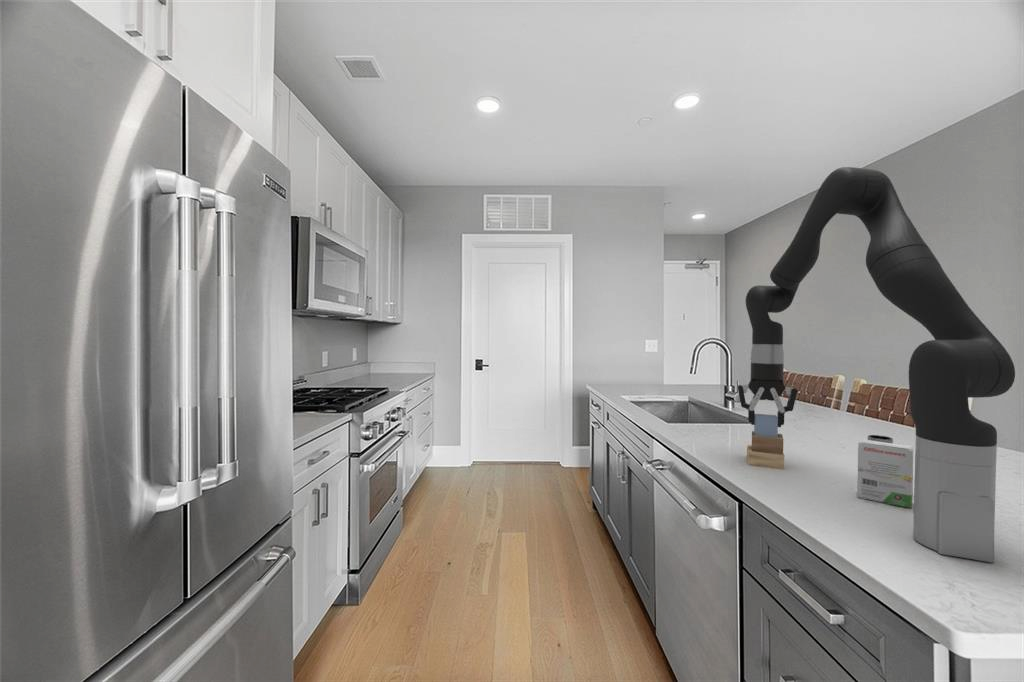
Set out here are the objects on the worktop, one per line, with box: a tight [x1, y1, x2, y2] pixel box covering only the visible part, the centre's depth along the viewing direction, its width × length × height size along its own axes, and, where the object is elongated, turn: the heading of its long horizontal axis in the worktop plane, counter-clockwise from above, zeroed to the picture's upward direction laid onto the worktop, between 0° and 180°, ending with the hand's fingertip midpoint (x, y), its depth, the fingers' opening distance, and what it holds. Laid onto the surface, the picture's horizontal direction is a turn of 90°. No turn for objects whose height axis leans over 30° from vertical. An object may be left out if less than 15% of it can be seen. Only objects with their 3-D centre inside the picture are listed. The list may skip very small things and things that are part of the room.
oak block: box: [746, 444, 785, 471], centre depth 118 cm, size 8×8×4 cm
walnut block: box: [751, 430, 784, 455], centre depth 117 cm, size 7×7×4 cm
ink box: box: [856, 439, 914, 509], centre depth 92 cm, size 8×5×12 cm, turn 44°
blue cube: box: [753, 413, 779, 438], centre depth 117 cm, size 5×5×5 cm
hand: (765, 425), depth 117 cm, fingers open, 5 cm apart
